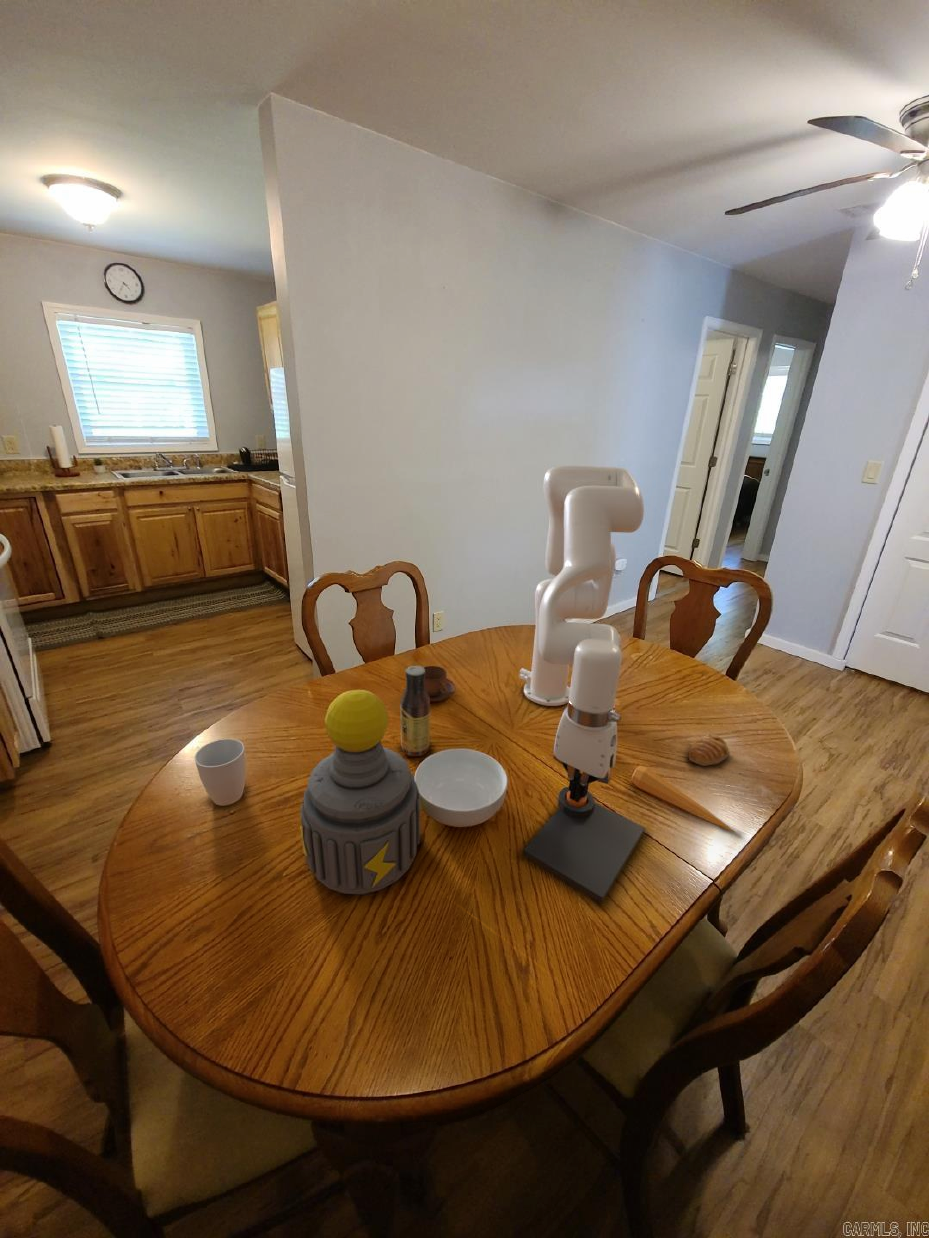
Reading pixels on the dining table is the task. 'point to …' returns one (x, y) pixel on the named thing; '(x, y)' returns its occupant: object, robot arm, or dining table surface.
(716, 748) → the pastry
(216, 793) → the cup
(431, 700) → the cup and saucer
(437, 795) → the cereal bowl
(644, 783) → the carrot
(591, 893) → the scale
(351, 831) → the decorative lamp
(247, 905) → the dining table surface
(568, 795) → the power button
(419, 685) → the sauce bottle
